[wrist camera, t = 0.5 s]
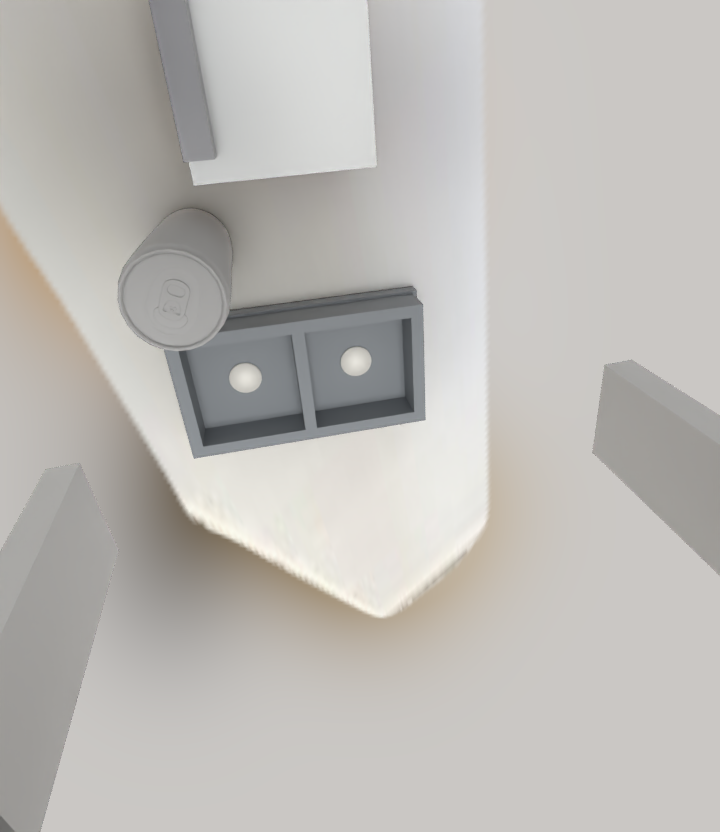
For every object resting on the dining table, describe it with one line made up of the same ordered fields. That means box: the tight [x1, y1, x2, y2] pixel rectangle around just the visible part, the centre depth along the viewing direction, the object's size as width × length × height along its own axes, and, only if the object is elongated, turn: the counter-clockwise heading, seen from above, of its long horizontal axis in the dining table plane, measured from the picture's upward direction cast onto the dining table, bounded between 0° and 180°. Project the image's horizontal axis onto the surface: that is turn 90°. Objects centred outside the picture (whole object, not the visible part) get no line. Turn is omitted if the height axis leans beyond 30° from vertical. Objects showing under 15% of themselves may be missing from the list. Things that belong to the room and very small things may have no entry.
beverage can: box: [118, 208, 233, 351], centre depth 29 cm, size 5×5×12 cm
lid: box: [149, 0, 377, 186], centre depth 25 cm, size 9×9×3 cm
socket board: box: [164, 286, 425, 458], centre depth 37 cm, size 9×17×4 cm, turn 95°
